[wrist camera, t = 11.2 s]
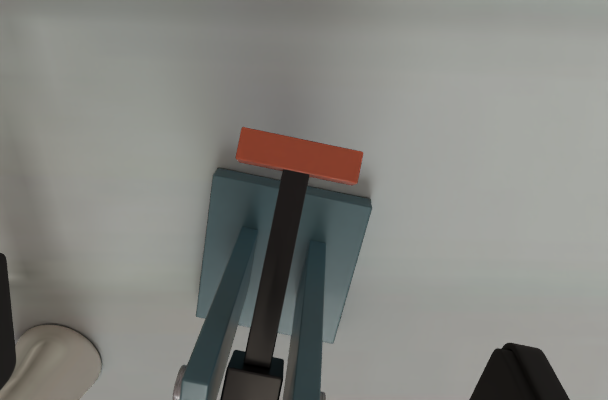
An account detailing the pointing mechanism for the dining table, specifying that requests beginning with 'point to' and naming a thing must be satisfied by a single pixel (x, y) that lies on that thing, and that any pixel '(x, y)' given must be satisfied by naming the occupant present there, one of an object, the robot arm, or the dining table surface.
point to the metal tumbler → (52, 365)
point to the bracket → (247, 273)
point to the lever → (280, 249)
